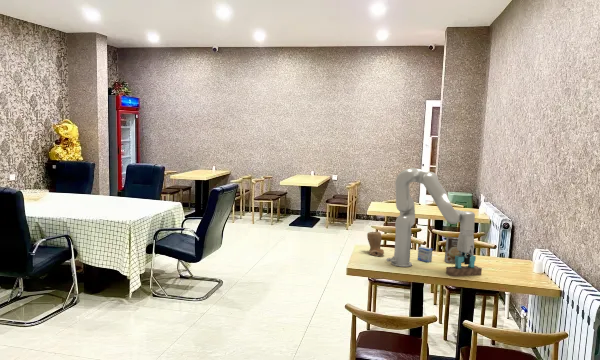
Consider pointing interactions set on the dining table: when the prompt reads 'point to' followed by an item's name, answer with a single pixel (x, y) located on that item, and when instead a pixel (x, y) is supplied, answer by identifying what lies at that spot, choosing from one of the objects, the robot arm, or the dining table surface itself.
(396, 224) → the robot arm
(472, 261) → the clip
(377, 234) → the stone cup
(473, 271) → the brown wooden candle holder
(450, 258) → the coffee box
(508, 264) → the dining table surface
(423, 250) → the medicine box
